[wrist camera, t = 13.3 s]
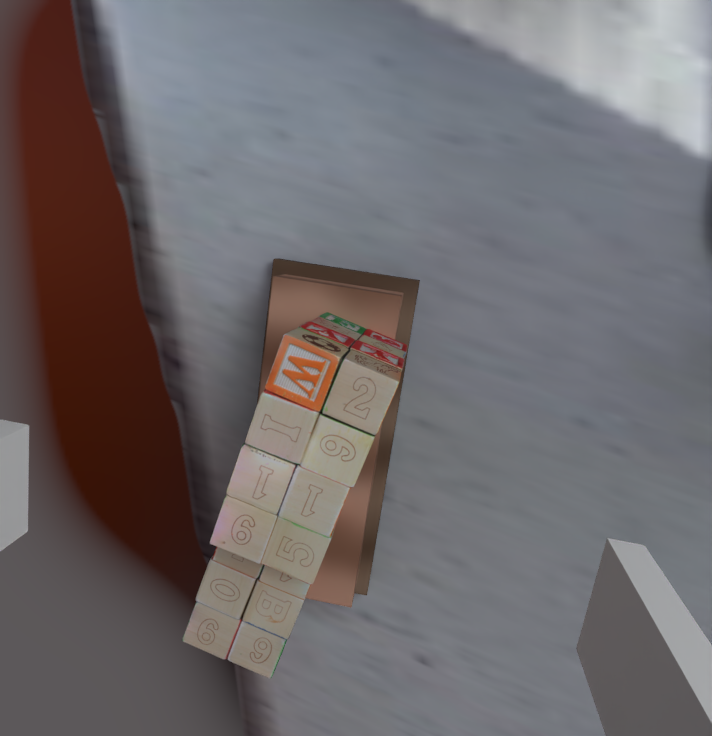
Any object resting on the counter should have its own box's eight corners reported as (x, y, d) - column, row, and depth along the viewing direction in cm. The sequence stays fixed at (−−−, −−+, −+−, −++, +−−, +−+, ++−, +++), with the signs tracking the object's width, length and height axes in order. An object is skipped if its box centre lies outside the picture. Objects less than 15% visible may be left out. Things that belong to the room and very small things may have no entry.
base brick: (278, 258, 45) (260, 259, 40) (419, 280, 44) (418, 283, 39) (243, 560, 51) (224, 593, 46) (368, 585, 50) (362, 621, 45)
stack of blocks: (301, 595, 45) (255, 720, 33) (227, 563, 45) (155, 675, 33) (409, 342, 40) (401, 382, 28) (325, 308, 41) (283, 332, 29)
